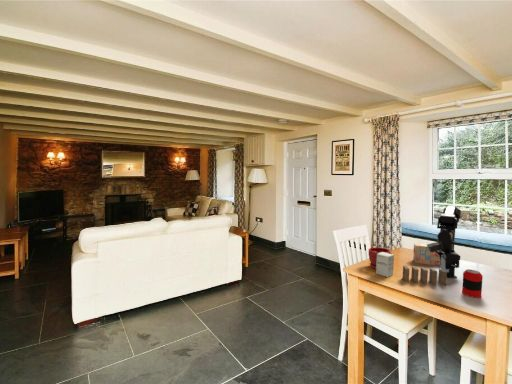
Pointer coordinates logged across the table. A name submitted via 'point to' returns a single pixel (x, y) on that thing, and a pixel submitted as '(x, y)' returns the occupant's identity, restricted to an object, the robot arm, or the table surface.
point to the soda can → (472, 283)
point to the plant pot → (374, 255)
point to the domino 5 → (443, 265)
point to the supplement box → (385, 264)
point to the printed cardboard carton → (425, 255)
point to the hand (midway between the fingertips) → (444, 267)
